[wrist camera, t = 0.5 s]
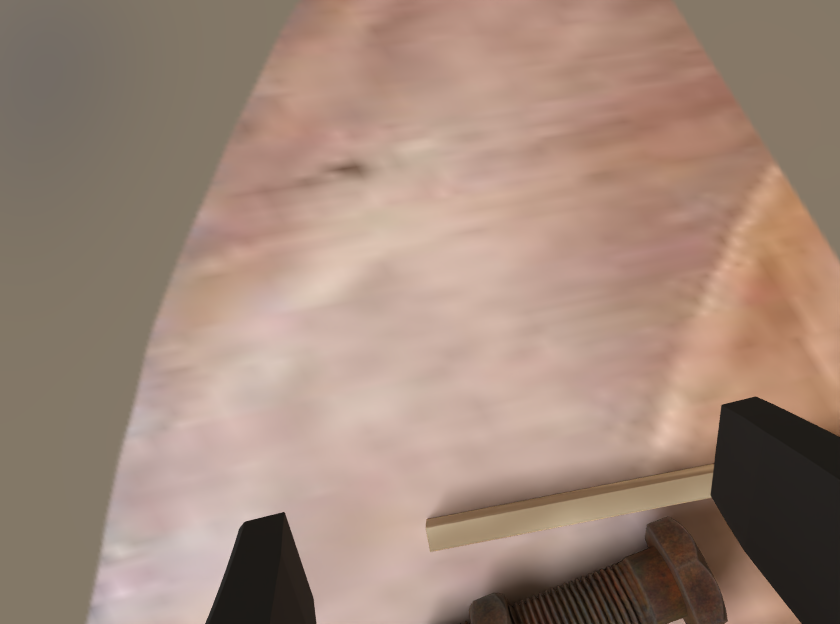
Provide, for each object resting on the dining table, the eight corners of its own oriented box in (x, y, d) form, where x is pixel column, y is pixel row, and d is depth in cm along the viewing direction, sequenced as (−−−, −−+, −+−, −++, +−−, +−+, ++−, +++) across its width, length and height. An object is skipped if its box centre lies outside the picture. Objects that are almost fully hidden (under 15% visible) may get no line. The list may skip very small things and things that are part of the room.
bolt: (418, 631, 37) (669, 534, 36) (446, 733, 34) (719, 629, 33) (390, 616, 32) (677, 505, 32) (419, 733, 29) (737, 612, 29)
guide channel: (918, 640, 34) (964, 666, 31) (466, 726, 34) (468, 759, 31) (865, 434, 35) (904, 440, 32) (426, 519, 35) (425, 532, 32)
